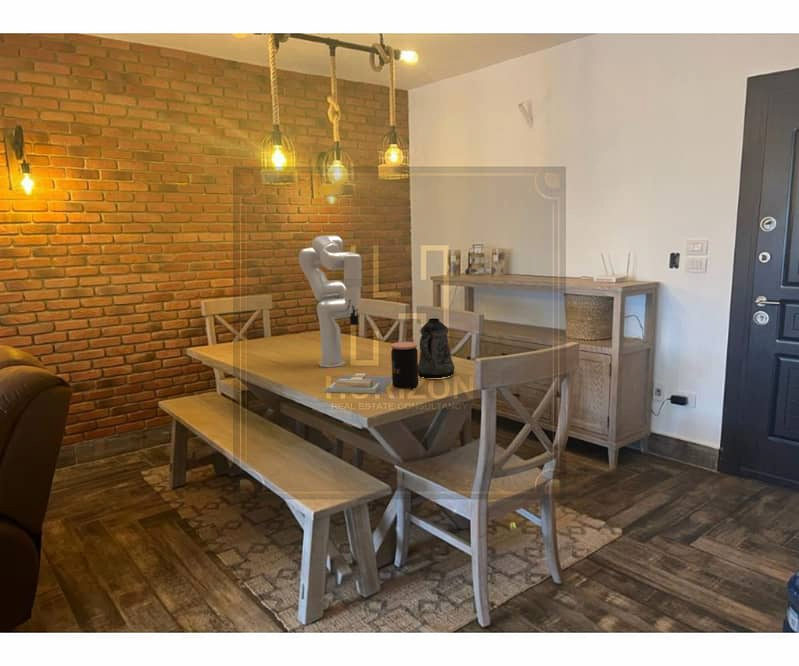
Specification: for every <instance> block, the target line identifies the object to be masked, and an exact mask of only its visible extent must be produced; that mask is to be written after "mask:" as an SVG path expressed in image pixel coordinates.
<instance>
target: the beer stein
mask: <svg viewBox="0 0 799 666" xmlns="http://www.w3.org/2000/svg"><path fill="white" fill-rule="evenodd" d="M449 330H450V329H449V328H448V327H447V326H446V325H445V324H444V323H443V322H441V321H440V319H439V318H436V317H435V318H434V317H433V318H429V319H428V321H427V322H426V323H425V324H424V325H423V326H422V327H421V329H420V330H419V331H420V334H421V336H420V339H419V350H420V352H419V359H418V377H419V376H420V378H421V377H424V378H423V379H425V378H442V377H448V376H451V375H453V374H455V363H454V362H453V359H452V355H451V349H450V343H449V339H448V334H449ZM453 376H454V375H453Z"/></svg>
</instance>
